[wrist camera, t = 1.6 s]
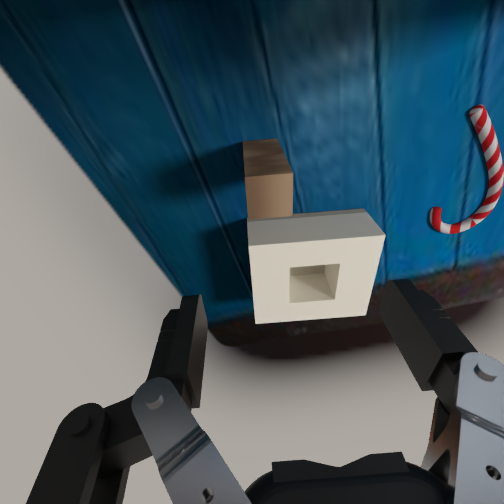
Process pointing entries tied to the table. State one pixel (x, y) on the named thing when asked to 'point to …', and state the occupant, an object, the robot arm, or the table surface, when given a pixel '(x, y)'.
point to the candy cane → (494, 171)
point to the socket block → (313, 265)
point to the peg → (267, 180)
